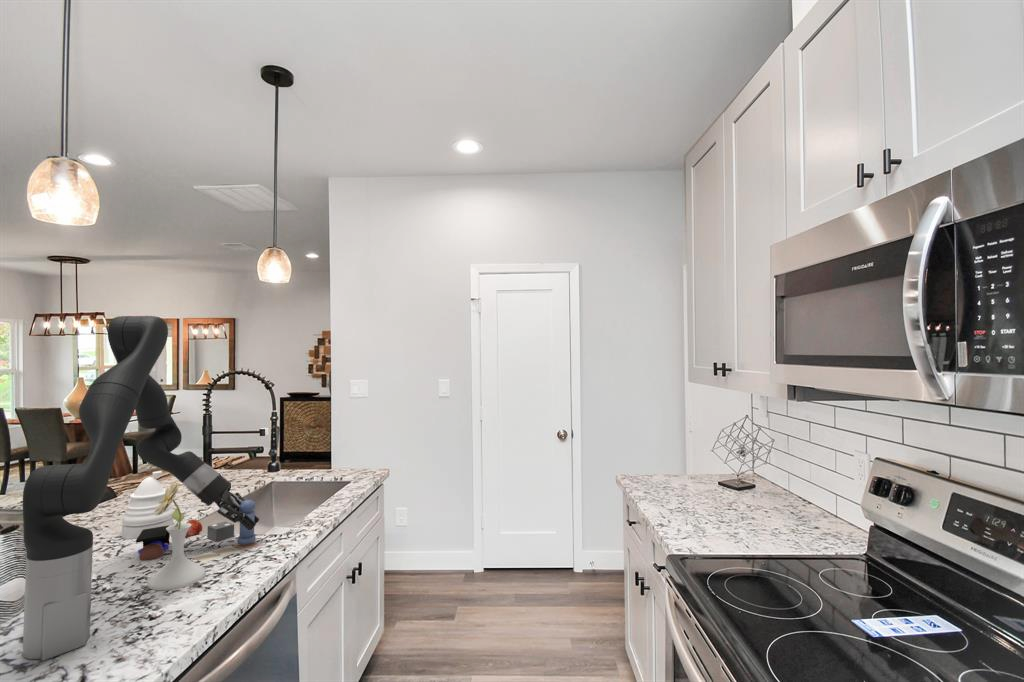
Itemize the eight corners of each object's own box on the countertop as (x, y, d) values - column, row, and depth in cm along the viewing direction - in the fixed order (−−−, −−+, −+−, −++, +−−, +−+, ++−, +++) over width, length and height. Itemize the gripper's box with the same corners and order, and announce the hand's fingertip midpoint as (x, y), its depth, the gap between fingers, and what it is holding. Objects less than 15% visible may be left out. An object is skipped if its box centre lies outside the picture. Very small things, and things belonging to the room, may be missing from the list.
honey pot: (171, 522, 162) (173, 466, 163) (174, 532, 152) (176, 473, 153) (121, 530, 155) (123, 472, 155) (121, 542, 144) (123, 479, 145)
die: (233, 541, 145) (234, 523, 145) (215, 547, 140) (216, 528, 141) (225, 538, 147) (225, 520, 148) (207, 543, 143) (207, 525, 143)
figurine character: (141, 555, 139) (133, 568, 126) (142, 526, 140) (134, 536, 127) (170, 550, 142) (165, 562, 129) (171, 522, 143) (167, 532, 130)
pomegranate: (186, 541, 150) (169, 532, 144) (198, 523, 153) (182, 514, 147) (201, 545, 148) (184, 536, 142) (212, 527, 151) (196, 517, 146)
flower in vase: (156, 579, 120) (159, 475, 121) (210, 572, 124) (212, 471, 125) (137, 604, 108) (140, 488, 108) (197, 595, 112) (200, 483, 113)
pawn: (258, 540, 139) (259, 499, 139) (242, 545, 135) (243, 502, 136) (250, 537, 141) (251, 496, 142) (234, 542, 138) (235, 500, 138)
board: (264, 550, 138) (264, 544, 138) (202, 570, 125) (202, 564, 125) (248, 544, 143) (249, 538, 143) (187, 562, 130) (188, 557, 130)
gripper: (210, 479, 130) (260, 522, 133) (225, 468, 144) (270, 507, 147) (186, 501, 129) (238, 544, 131) (204, 488, 142) (250, 527, 145)
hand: (254, 524), depth 139 cm, fingers closed on pawn, 3 cm apart
